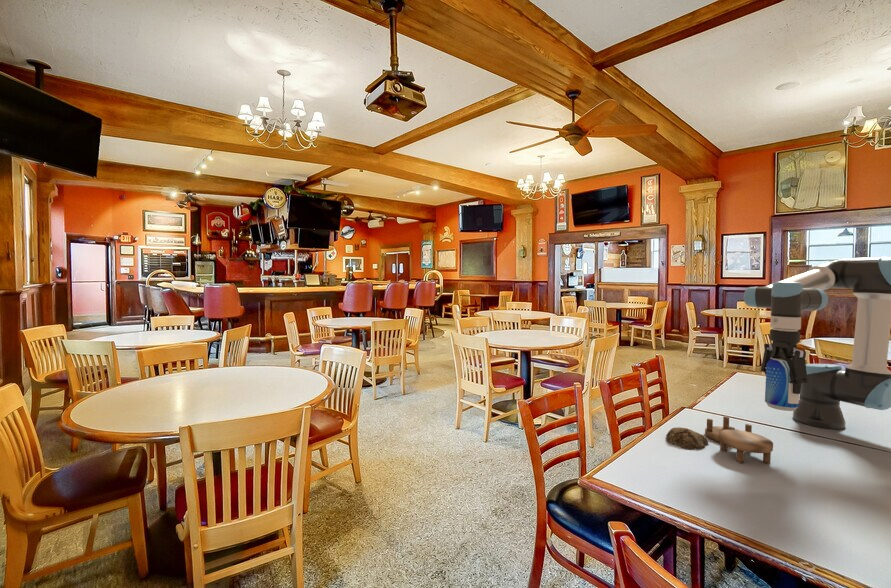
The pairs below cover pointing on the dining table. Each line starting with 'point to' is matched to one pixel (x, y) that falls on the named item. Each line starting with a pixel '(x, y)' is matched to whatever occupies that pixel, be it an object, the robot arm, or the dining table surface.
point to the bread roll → (686, 438)
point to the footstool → (745, 444)
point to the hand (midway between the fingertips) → (781, 398)
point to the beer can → (778, 385)
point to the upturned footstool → (713, 431)
